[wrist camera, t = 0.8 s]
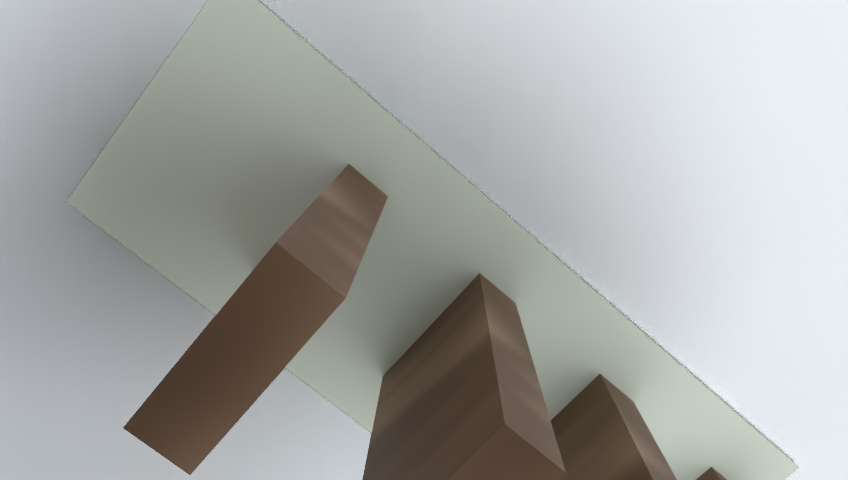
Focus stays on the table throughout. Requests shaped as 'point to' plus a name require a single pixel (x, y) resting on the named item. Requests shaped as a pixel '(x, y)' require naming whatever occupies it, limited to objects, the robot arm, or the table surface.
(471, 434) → the domino
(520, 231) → the mat
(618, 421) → the domino
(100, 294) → the table surface
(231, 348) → the domino
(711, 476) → the domino
